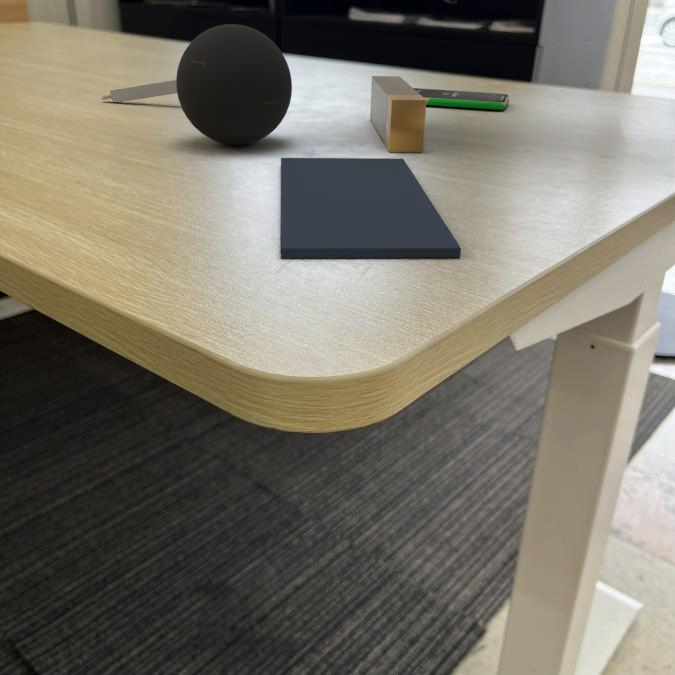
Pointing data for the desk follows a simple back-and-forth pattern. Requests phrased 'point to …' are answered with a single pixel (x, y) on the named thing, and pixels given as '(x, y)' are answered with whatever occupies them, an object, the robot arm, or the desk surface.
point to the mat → (358, 211)
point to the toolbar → (398, 114)
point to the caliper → (142, 91)
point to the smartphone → (464, 99)
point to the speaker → (234, 84)
